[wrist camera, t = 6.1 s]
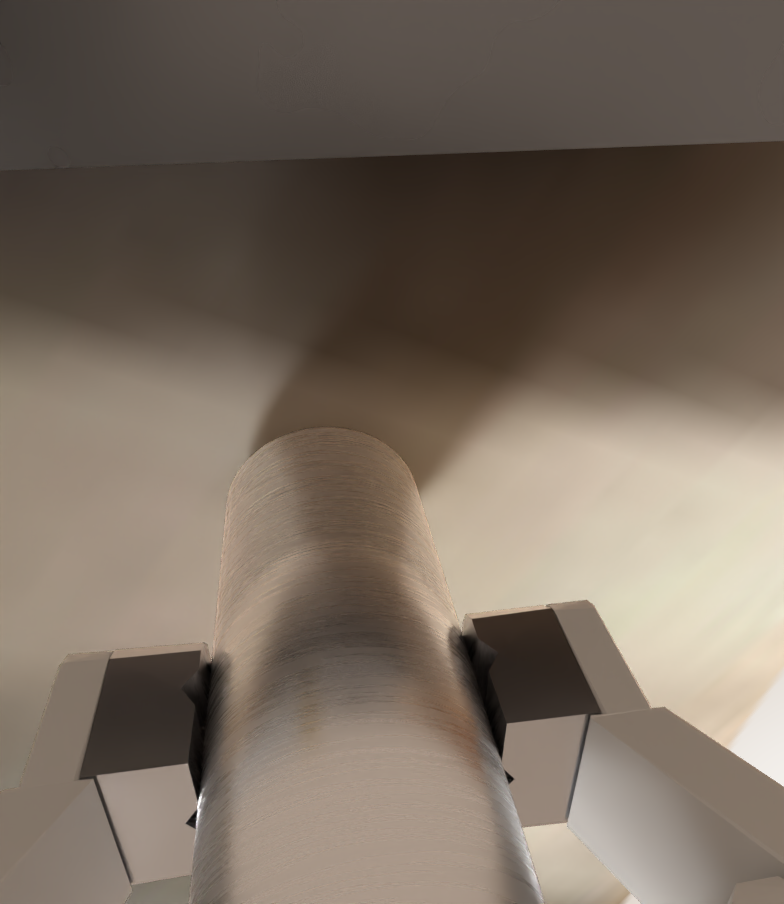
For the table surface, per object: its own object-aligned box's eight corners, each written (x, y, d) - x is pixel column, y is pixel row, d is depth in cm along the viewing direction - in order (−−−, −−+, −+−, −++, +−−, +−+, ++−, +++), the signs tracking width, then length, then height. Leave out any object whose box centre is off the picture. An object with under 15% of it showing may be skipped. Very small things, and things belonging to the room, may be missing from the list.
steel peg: (416, 574, 12) (598, 1272, 5) (237, 592, 12) (191, 1363, 5) (420, 419, 11) (681, 1129, 4) (213, 434, 10) (100, 1245, 3)
